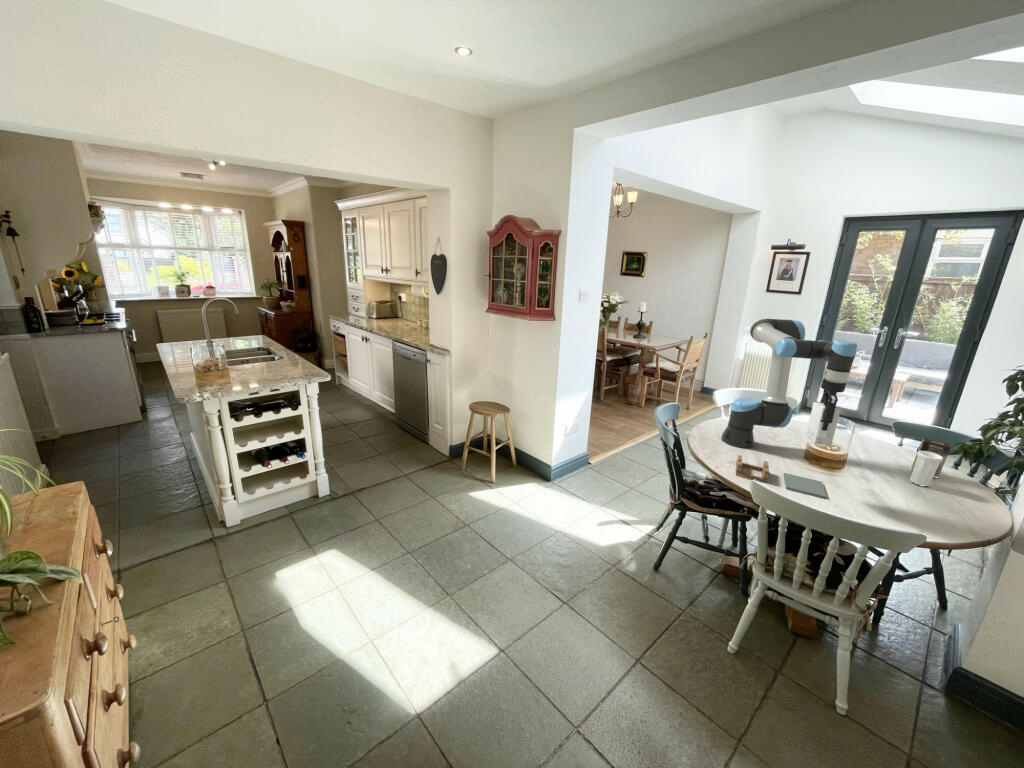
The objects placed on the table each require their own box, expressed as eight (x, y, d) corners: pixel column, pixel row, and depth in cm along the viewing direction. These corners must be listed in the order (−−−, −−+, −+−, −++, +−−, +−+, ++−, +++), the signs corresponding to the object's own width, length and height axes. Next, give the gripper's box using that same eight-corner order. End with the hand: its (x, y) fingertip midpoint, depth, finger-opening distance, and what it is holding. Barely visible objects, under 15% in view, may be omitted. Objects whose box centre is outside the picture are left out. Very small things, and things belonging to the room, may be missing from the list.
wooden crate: (735, 464, 193) (738, 454, 191) (765, 471, 187) (768, 461, 186) (735, 475, 183) (737, 465, 181) (766, 483, 177) (769, 472, 176)
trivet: (783, 474, 185) (783, 472, 185) (821, 483, 179) (821, 481, 179) (785, 488, 173) (786, 486, 173) (826, 499, 167) (827, 496, 167)
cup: (925, 481, 185) (936, 452, 181) (936, 490, 178) (948, 460, 174) (902, 477, 188) (913, 449, 183) (912, 486, 180) (924, 456, 176)
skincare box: (831, 446, 165) (842, 409, 161) (813, 444, 166) (823, 407, 162) (821, 438, 173) (831, 403, 169) (803, 435, 174) (813, 401, 170)
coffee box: (911, 471, 193) (923, 440, 189) (911, 467, 198) (922, 436, 193) (938, 479, 188) (951, 447, 183) (937, 474, 192) (950, 443, 187)
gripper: (819, 372, 173) (805, 422, 180) (827, 385, 154) (812, 440, 161) (841, 375, 170) (826, 426, 176) (852, 389, 151) (835, 445, 158)
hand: (819, 432), depth 169 cm, fingers closed on skincare box, 9 cm apart
